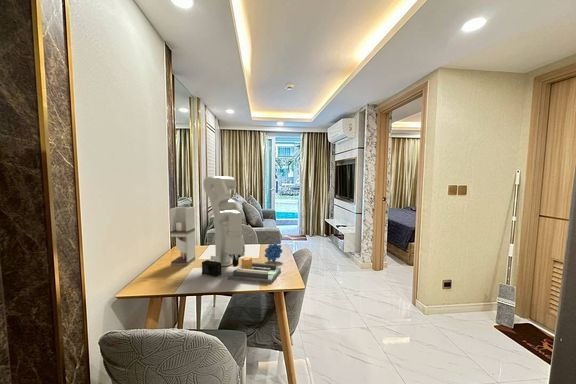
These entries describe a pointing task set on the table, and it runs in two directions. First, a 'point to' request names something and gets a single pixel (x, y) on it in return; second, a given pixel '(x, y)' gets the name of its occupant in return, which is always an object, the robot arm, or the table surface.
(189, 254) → the display case
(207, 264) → the digital camera
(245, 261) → the toggle
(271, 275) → the panel
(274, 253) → the grapes
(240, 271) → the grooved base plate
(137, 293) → the table surface
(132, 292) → the table surface
